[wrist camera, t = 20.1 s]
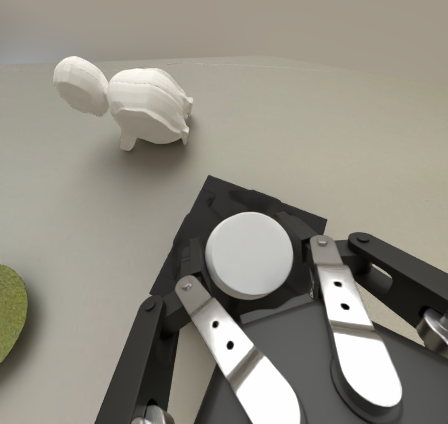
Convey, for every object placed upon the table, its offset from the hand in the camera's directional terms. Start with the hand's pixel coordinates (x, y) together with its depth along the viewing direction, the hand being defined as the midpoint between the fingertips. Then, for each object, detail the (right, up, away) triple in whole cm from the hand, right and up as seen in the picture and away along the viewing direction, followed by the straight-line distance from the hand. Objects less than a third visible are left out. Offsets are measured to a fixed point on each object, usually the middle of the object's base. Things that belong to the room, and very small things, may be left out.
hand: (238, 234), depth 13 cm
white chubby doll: (-13, +15, +13) cm, 23 cm away
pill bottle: (+1, -4, +7) cm, 8 cm away
